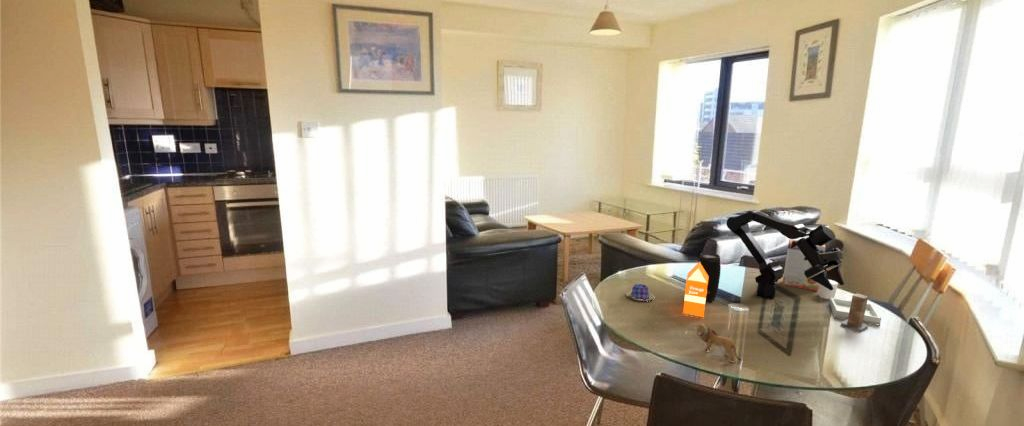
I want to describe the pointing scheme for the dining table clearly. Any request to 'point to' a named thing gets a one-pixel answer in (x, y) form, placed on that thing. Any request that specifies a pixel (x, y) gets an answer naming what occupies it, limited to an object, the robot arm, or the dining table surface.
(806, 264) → the cracker box
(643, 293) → the plaid hat
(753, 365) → the dining table surface
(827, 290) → the white cylinder
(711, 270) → the black tall cylinder
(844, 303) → the tray
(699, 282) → the orange juice
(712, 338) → the lion figurine
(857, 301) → the wooden post with base
